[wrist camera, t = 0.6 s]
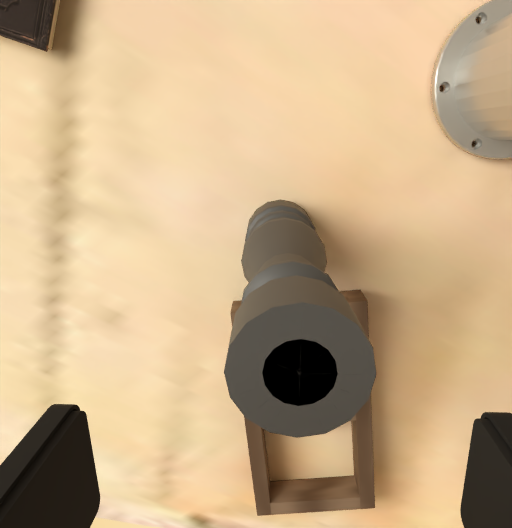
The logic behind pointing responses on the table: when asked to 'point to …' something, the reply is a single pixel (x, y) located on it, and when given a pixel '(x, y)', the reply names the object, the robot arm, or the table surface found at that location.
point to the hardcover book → (29, 21)
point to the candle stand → (318, 489)
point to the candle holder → (294, 332)
